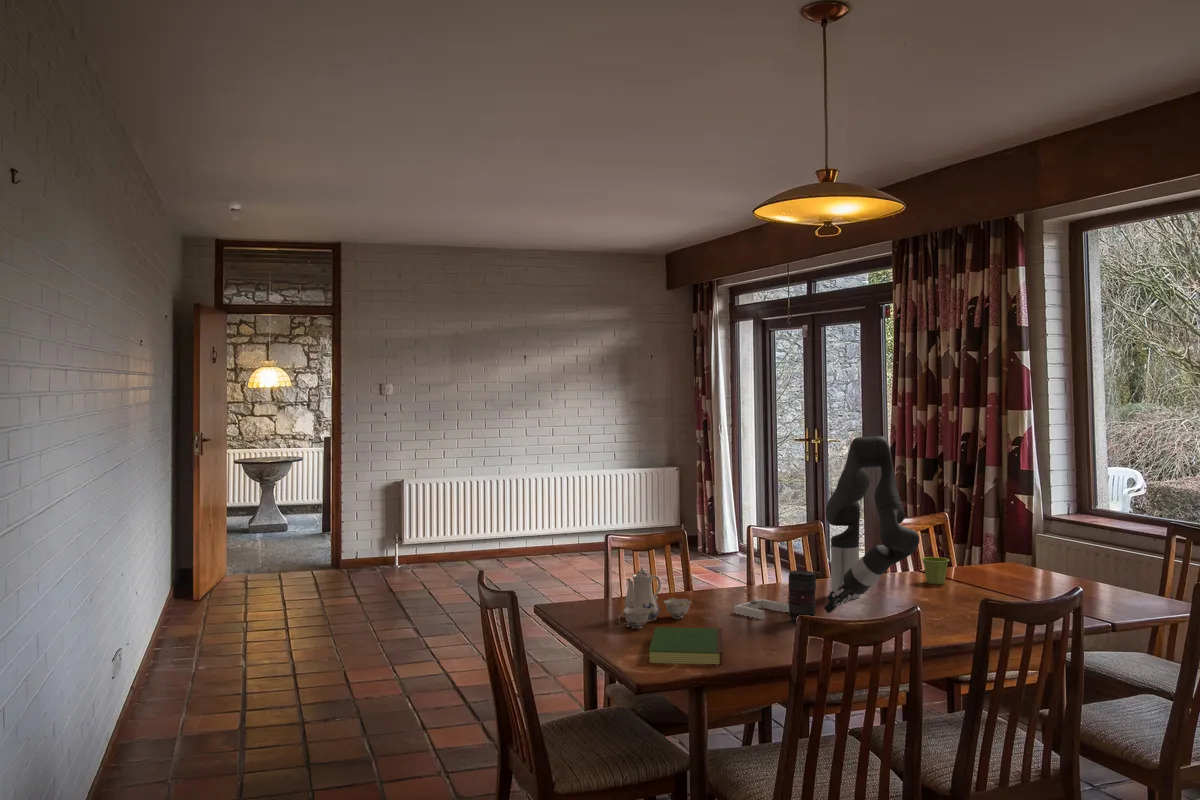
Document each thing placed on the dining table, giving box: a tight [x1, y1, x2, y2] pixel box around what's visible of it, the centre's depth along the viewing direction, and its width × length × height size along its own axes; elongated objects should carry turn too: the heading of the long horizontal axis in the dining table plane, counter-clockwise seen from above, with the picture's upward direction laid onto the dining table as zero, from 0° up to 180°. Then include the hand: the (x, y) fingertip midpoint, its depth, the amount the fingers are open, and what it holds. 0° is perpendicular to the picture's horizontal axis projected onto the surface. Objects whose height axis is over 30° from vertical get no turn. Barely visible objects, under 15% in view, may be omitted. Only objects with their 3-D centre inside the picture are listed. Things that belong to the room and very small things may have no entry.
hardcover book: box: [648, 626, 723, 666], centre depth 252 cm, size 25×19×4 cm
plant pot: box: [921, 556, 950, 585], centre depth 335 cm, size 9×9×9 cm
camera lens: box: [788, 569, 817, 624], centre depth 282 cm, size 8×8×15 cm
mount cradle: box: [733, 598, 789, 620], centre depth 293 cm, size 14×11×3 cm
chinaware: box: [618, 566, 693, 630], centre depth 285 cm, size 28×17×17 cm, turn 136°
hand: (827, 610), depth 275 cm, fingers closed
